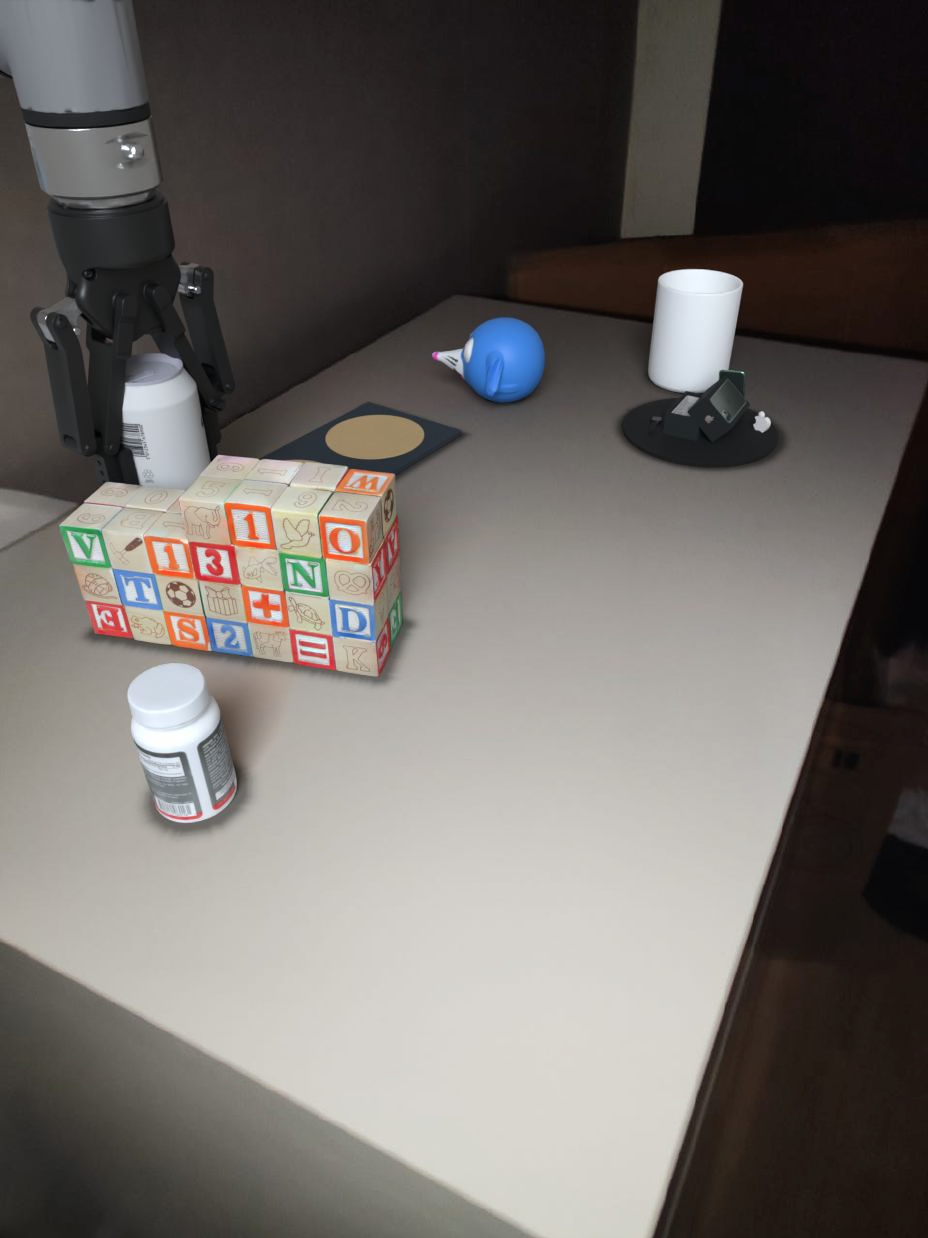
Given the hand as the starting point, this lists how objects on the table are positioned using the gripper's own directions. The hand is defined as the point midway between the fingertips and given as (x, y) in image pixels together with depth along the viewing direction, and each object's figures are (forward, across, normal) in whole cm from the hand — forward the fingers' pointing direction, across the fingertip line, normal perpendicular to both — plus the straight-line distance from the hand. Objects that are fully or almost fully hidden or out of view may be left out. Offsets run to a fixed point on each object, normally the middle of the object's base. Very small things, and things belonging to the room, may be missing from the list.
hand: (172, 502), depth 73 cm
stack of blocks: (+4, -5, -14) cm, 15 cm away
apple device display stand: (+3, +43, -26) cm, 51 cm away
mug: (+3, +56, -20) cm, 59 cm away
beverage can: (+1, 0, 0) cm, 1 cm away
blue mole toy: (+4, +38, -4) cm, 38 cm away
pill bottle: (+3, -18, -22) cm, 29 cm away
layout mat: (+4, +17, -2) cm, 17 cm away
